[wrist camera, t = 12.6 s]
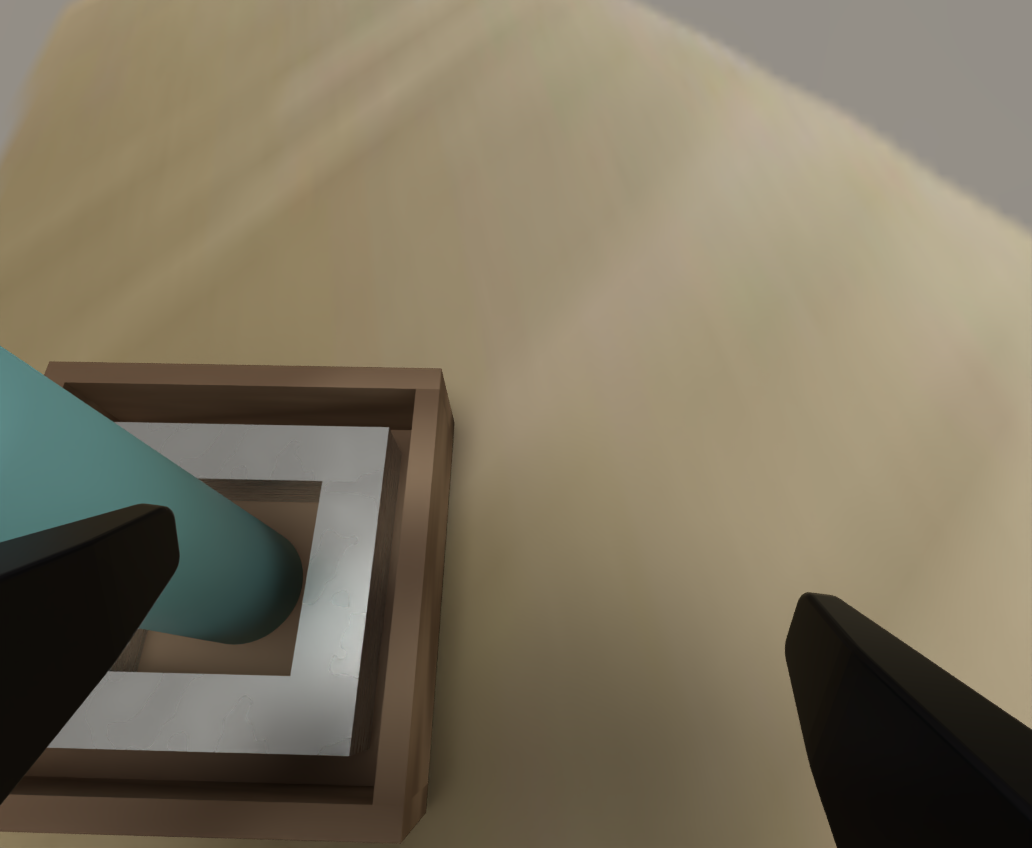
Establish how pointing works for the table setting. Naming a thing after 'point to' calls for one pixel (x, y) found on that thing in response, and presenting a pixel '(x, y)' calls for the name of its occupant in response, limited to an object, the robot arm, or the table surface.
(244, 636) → the peg
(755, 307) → the table surface
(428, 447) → the tray
